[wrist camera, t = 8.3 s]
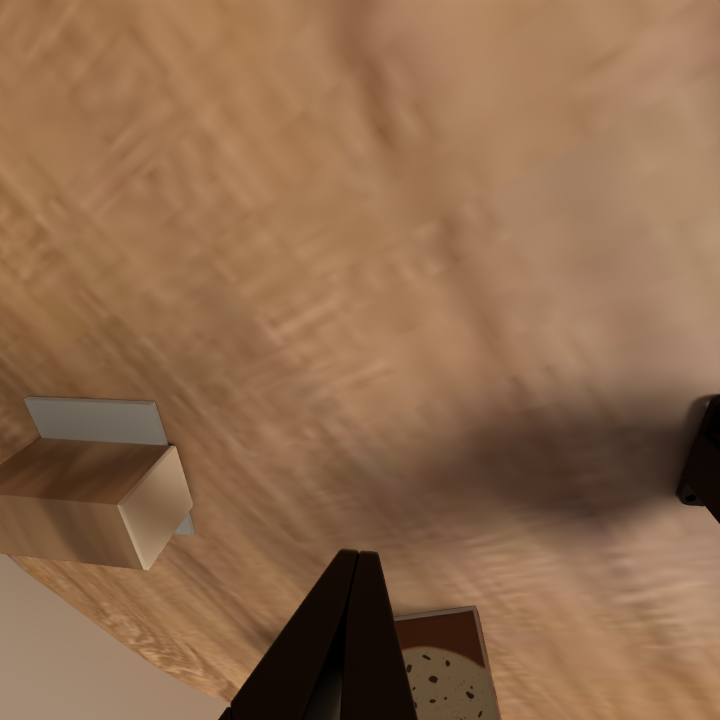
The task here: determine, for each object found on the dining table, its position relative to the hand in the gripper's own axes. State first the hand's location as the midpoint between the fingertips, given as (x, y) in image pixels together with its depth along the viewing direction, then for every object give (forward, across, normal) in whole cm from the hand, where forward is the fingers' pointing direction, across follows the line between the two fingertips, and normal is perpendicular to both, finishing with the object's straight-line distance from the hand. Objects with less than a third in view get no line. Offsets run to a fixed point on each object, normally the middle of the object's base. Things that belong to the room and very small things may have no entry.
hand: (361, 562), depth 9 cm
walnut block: (+10, +14, +10) cm, 20 cm away
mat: (+13, +20, +10) cm, 25 cm away
